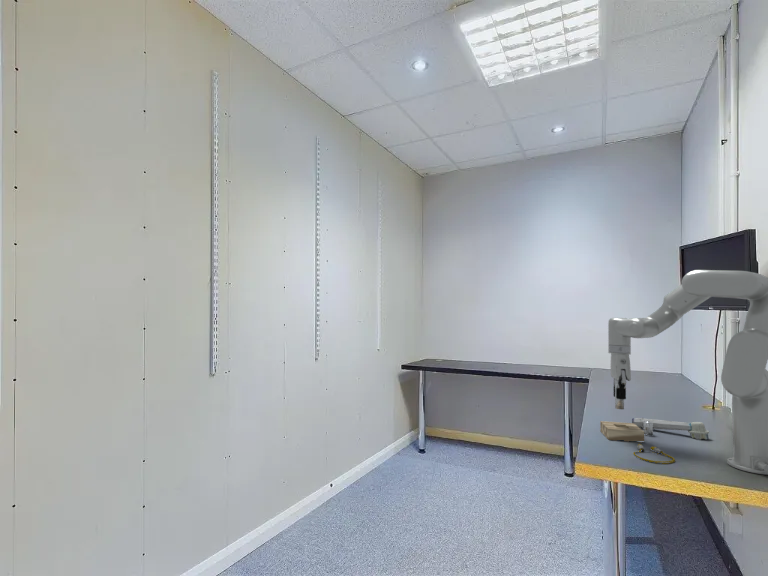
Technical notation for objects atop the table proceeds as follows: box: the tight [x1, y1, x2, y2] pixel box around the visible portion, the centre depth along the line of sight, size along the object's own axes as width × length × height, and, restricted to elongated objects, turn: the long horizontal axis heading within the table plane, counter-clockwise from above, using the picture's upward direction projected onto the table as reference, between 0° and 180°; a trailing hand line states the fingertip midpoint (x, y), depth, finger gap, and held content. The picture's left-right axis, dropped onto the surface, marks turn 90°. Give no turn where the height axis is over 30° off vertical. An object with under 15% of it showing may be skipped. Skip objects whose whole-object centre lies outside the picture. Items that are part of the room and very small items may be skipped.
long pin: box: [614, 379, 625, 410], centre depth 162 cm, size 3×3×12 cm
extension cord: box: [632, 443, 676, 465], centre depth 139 cm, size 12×16×2 cm
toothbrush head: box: [631, 417, 710, 440], centre depth 167 cm, size 5×7×25 cm
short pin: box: [643, 421, 654, 436], centre depth 164 cm, size 3×3×5 cm
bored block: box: [599, 420, 645, 442], centre depth 161 cm, size 12×12×4 cm
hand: (619, 397), depth 162 cm, fingers closed on long pin, 3 cm apart
